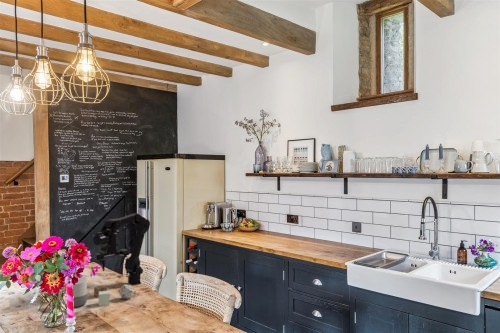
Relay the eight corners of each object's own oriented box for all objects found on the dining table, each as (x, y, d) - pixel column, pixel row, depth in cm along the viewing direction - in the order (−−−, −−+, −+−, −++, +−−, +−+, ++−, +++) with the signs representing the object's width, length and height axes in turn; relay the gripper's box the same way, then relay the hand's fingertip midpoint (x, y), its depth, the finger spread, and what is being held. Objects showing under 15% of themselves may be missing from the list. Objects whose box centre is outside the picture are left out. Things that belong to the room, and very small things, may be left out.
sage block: (108, 302, 202) (109, 290, 202) (109, 305, 197) (109, 293, 197) (98, 303, 200) (98, 291, 200) (98, 306, 195) (98, 294, 195)
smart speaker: (63, 308, 192) (63, 280, 192) (71, 302, 201) (72, 275, 201) (82, 308, 192) (83, 280, 192) (90, 302, 201) (90, 275, 201)
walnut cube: (102, 293, 214) (102, 284, 214) (107, 296, 211) (107, 286, 211) (94, 296, 211) (94, 286, 211) (98, 298, 207) (98, 288, 207)
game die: (129, 304, 208) (141, 288, 211) (123, 304, 200) (135, 287, 203) (117, 295, 211) (129, 279, 213) (111, 294, 203) (123, 278, 205)
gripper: (121, 237, 230) (121, 263, 230) (89, 242, 217) (89, 269, 217) (129, 240, 221) (129, 267, 222) (97, 245, 209) (97, 274, 209)
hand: (111, 269), depth 218 cm, fingers open, 9 cm apart
